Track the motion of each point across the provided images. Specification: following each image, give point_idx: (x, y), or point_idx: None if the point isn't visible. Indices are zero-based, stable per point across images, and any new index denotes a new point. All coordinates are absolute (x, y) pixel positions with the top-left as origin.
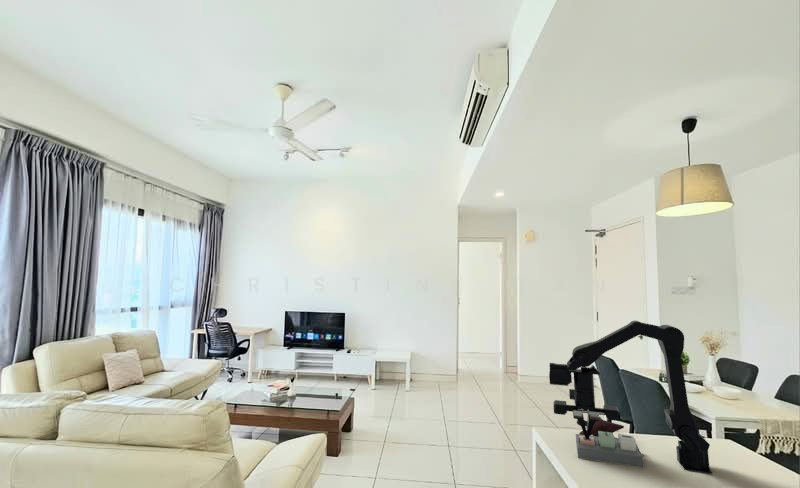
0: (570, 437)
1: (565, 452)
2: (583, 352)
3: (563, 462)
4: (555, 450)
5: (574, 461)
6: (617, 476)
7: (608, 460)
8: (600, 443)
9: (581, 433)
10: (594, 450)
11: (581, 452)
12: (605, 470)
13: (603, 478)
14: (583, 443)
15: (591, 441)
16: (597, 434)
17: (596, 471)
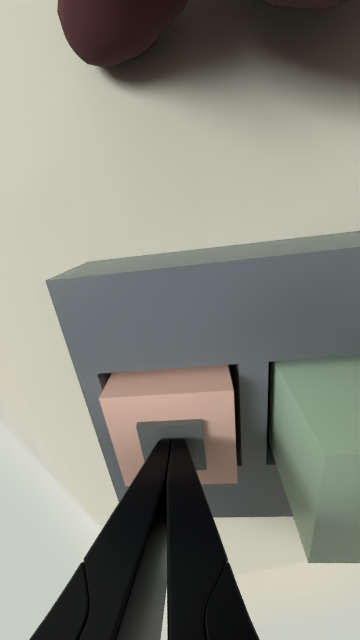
0: (6, 127)
1: (66, 426)
2: None
3: (88, 511)
4: (13, 423)
5: None
6: (299, 540)
7: None
8: (283, 478)
9: (83, 38)
10: (226, 512)
11: None
12: (258, 517)
13: (243, 561)
14: None
15: (212, 478)
16: (293, 2)
17: (221, 531)
